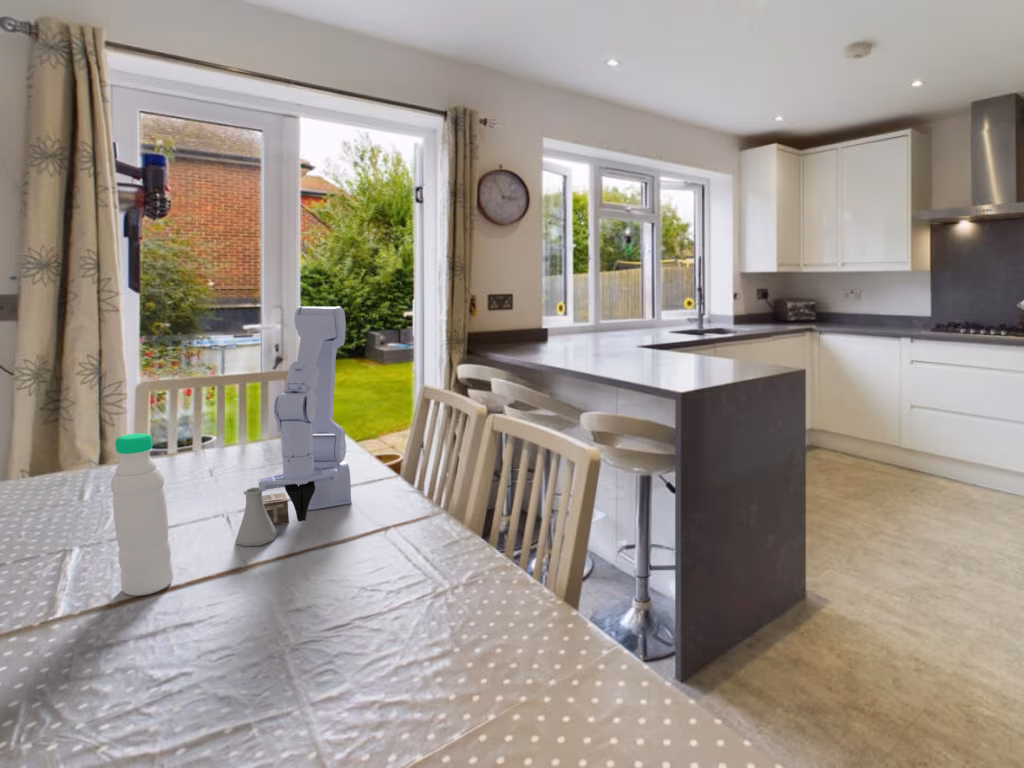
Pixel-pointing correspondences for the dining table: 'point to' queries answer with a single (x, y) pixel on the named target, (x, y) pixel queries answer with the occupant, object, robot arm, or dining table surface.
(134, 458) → the water bottle
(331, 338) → the robot arm
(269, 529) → the flask
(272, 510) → the lettered block
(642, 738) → the dining table surface
